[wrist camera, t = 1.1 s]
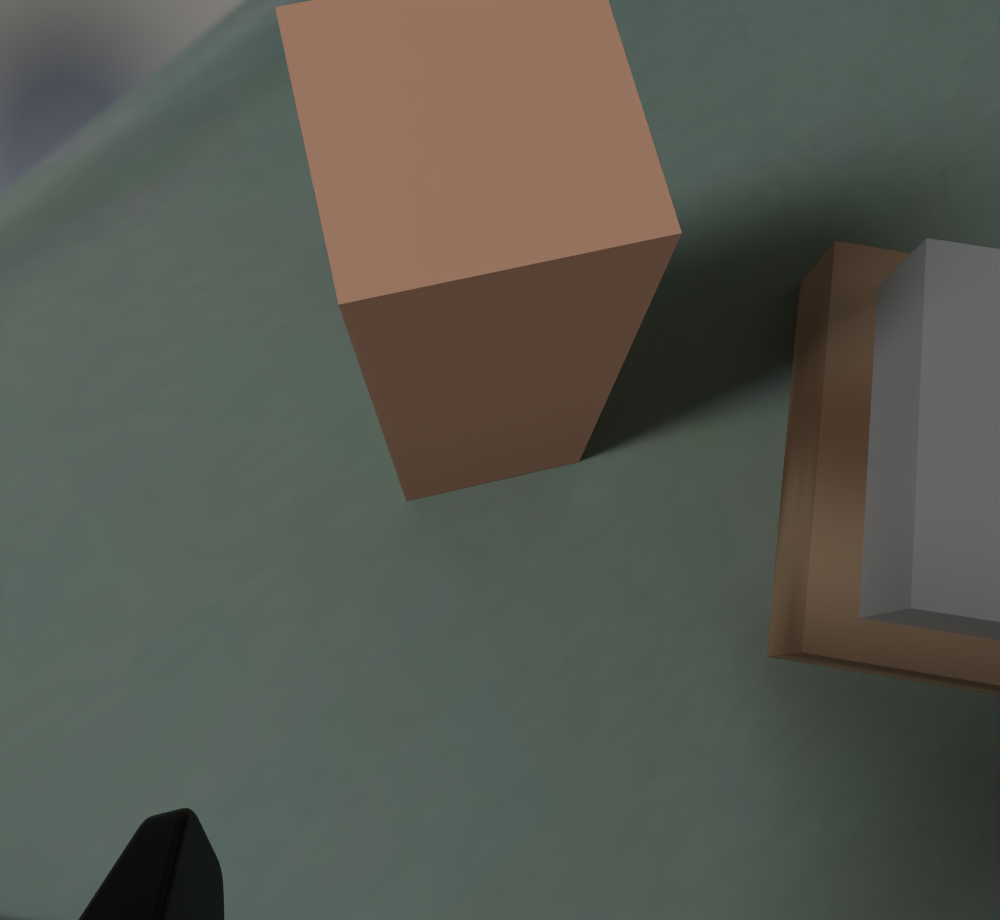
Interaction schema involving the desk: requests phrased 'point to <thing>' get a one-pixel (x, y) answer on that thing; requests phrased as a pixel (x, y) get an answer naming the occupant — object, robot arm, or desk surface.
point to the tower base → (846, 495)
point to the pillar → (481, 219)
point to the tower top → (935, 444)
